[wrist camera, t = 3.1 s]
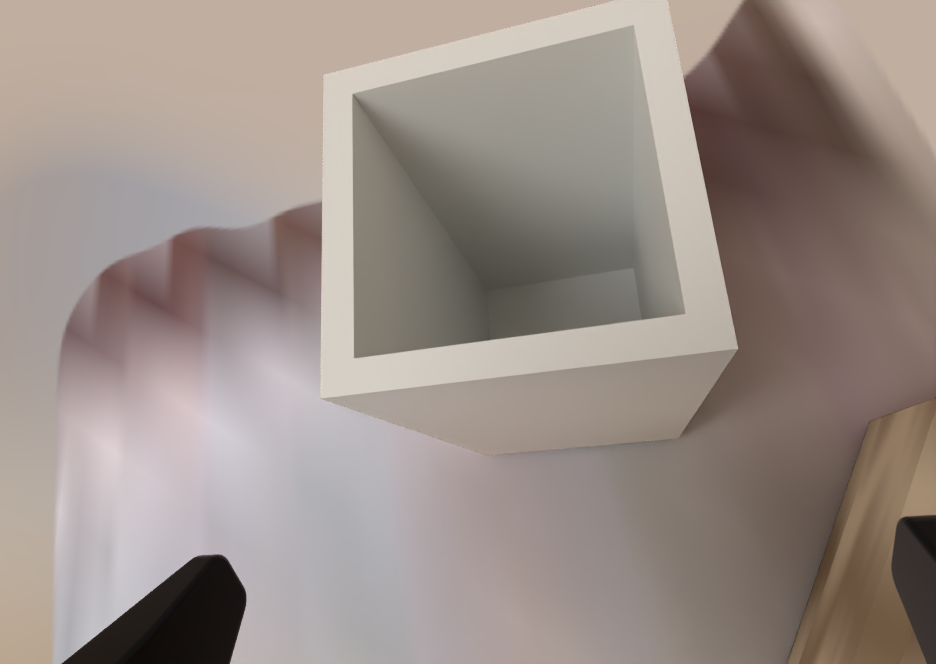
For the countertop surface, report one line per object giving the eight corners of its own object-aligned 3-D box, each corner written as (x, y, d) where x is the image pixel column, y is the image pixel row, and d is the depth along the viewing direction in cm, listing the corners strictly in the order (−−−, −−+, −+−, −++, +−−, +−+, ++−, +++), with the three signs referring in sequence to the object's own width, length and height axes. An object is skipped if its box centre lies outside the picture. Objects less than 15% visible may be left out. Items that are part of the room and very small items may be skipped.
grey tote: (678, 438, 19) (738, 348, 8) (487, 455, 21) (320, 398, 10) (648, 258, 21) (664, -13, 10) (475, 285, 23) (323, 74, 12)
